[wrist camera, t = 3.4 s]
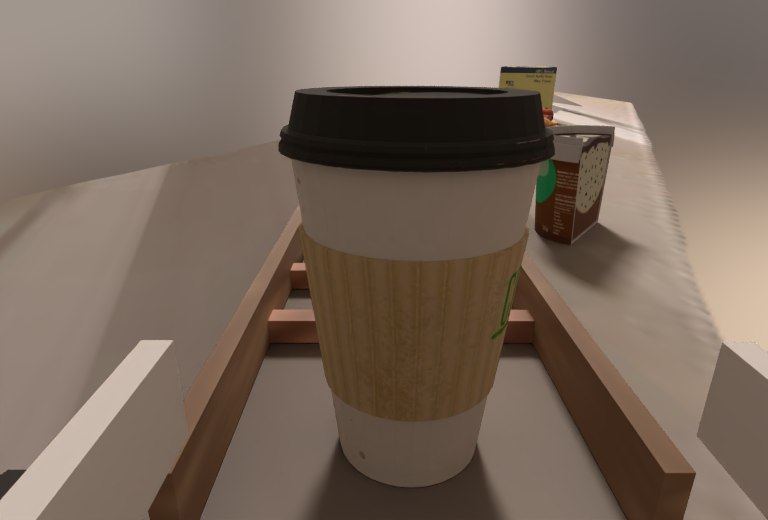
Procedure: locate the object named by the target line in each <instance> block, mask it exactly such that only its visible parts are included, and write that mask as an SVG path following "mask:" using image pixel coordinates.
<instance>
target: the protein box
mask: <svg viewBox="0 0 768 520" xmlns="http://www.w3.org/2000/svg"><path fill="white" fill-rule="evenodd" d="M556 71H557V67H529V66H513V67H512V66H511V67H510V66H508V67H507V66H505V67H501V72H500V81H499V88H507V89H521V90H531V91H537V92H540V94H541V101H542V108H544V109H545V108H547V107H548V109H551V110H552V102H553V94H554V86H555V78H556Z"/></svg>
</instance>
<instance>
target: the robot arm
mask: <svg viewBox="0 0 768 520" xmlns="http://www.w3.org/2000/svg"><path fill="white" fill-rule="evenodd" d="M188 435H189V432H188V426H187V420H186V413H185V407H184V401H183V395H182V389H181V383H180V377H179V371H178V365H177V359H176V353H175V347H174V341H173V340H141V341H140V342H139V343H138V344H137V346H136V347H135V348H134V349H133V350H132V351H131V352H130V354H129V355H128V356H127V357H126V358H125V359H124V360H123V362H122V363H121V364H120V365H119V366H118V367H117V368H116V369H115V371H114V372H113V373H112V374H111V375H110V376H109V377H108V379H107V380H106V381H105V382H104V383H103V384H102V385H101V386H100V388H99V389H98V390H97V391H96V392H95V393H94V394H93V396H92V397H91V398H90V399H89V400H88V401H87V402H86V403H85V405H84V406H83V407H82V408H81V409H80V410H79V411H78V413H77V414H76V415H75V416H74V417H73V418H72V419H71V420H70V422H69V423H68V424H67V425H66V426H65V427H64V428H63V430H62V431H61V432H60V433H59V434H58V435H57V436H56V437H55V439H54V440H53V441H52V442H51V443H50V444H49V445H48V447H47V448H46V449H45V450H44V451H43V452H42V453H41V454H40V456H39V457H38V458H37V459H36V460H35V461H34V462H33V464H32V465H31V466H30V467H29V468H28V469H27V470H7V471H6V472H4V473H3V474H1V475H0V520H143V519H144V518H145V516H146V514H147V512H148V510H149V508H150V506H151V504H152V502H153V501H154V499H155V497H156V495H157V493H158V491H159V489H160V487H161V485H162V484H163V482H164V480H165V478H166V476H167V474H168V472H169V470H170V468H171V467H172V465H173V463H174V461H175V459H176V457H177V455H178V453H179V452H180V450H181V448H182V446H183V444H184V442H185V440H186V438H187V436H188ZM697 437H698V438H699V439H700V440H701V441H702V443H703V444H704V445H705V446H706V447H707V448H708V450H709V451H710V452H711V453H712V454H713V456H714V457H715V458H716V459H717V460H718V462H719V463H720V464H721V465H722V466H723V467H724V469H725V470H726V471H727V472H728V473H729V475H730V476H731V477H732V478H733V479H734V481H735V482H736V483H737V484H738V485H739V486H740V488H741V489H742V490H743V491H744V492H745V494H746V495H747V496H748V497H749V498H750V500H751V501H752V502H753V503H754V504H755V505H756V507H757V508H758V509H759V510H760V511H761V513H762V514H763V515H764V516H765V517H766V519H767V520H768V352H767V351H765V350H764V349H763V348H761V347H760V346H759V345H757V344H756V343H755V342H722V346H721V349H720V353H719V356H718V360H717V364H716V367H715V371H714V374H713V378H712V382H711V385H710V389H709V393H708V396H707V400H706V403H705V407H704V411H703V414H702V418H701V421H700V425H699V429H698V432H697Z"/></svg>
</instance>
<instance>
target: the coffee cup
mask: <svg viewBox="0 0 768 520" xmlns="http://www.w3.org/2000/svg"><path fill="white" fill-rule="evenodd" d="M280 137H281V138H282V139H281V140H280V142H279V145H278V146H279V149H278V150H279V152H280V153H281V154H282V155H284V156H286V157H288V158H290V159H291V160H292V166H293V172H294V177H295V183H296V189H297V194H298V200H299V206H300V211H301V217H302V220H301V221H300V223H299V234H300V239H301V245H302V250H303V256H304V261H305V267H306V272H307V278H308V283H309V289H310V294H311V300H312V306H313V311H314V317H315V322H316V328H317V333H318V339H319V344H320V350H321V355H322V361H323V366H324V372H325V377H326V380H327V383H328V385H329V387H330V388H331V391H332V397H333V402H334V408H335V414H336V420H337V426H338V431H339V437H340V443H341V447H342V450H343V453H344V455H345V456H346V458H347V459H348V461H349V462H350V463H351V464H352V465H353V466H354V467H355V468H356V469H357V470H358V471H359V472H361V473H363V474H364V475H366V476H367V477H369V478H371V479H374V480H376V481H378V482H381V483H384V484H389V485H393V486H399V487H423V486H429V485H434V484H438V483H441V482H443V481H446V480H448V479H450V478H452V477H454V476H455V475H457V474H458V473H460V472H461V471H462V470H463V469H464V468H465V467H466V466H467V465H468V464H469V463H470V461H471V459H472V457H473V455H474V452H475V448H476V444H477V439H478V435H479V430H480V426H481V422H482V417H483V413H484V408H485V404H486V400H487V395H488V394H489V392H490V390H491V388H492V387H493V383H494V379H495V375H496V371H497V366H498V362H499V358H500V354H501V349H502V345H503V341H504V337H505V332H506V328H507V324H508V320H509V316H510V311H511V307H512V303H513V299H514V294H515V290H516V286H517V282H518V277H519V273H520V269H521V265H522V260H523V256H524V252H525V248H526V244H527V239H528V234H529V228H528V226H527V220H528V215H529V211H530V207H531V202H532V198H533V194H534V189H535V185H536V181H537V176H538V172H539V168H540V163H541V162H543V161H546V160H549V159H550V158H552V157H553V156H554V155H555V146H554V143H553V140H554V135H553V131H552V130H550V129H549V128H547V127H545V122H544V115H543V108H542V101H541V94H540V92H537V91H531V90H521V89H507V88H487V87H452V86H357V87H326V88H310V89H301V90H296V91H295V95H294V100H293V105H292V110H291V115H290V121H289V124H288V125H286V126H284V127H283V128H282V130H281V133H280Z"/></svg>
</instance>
